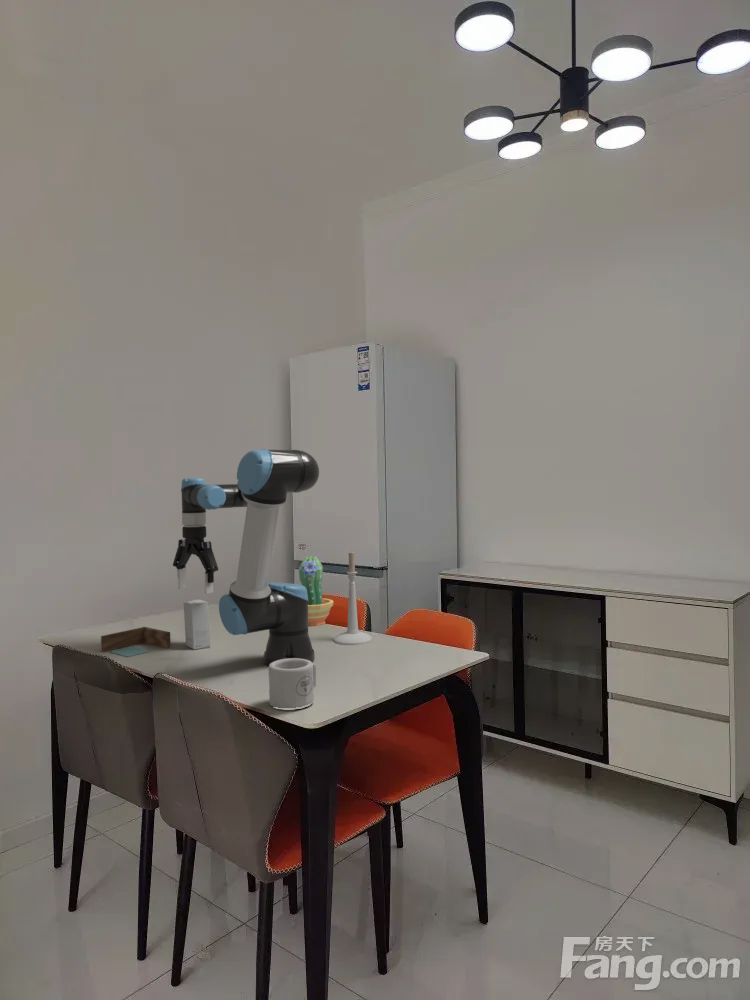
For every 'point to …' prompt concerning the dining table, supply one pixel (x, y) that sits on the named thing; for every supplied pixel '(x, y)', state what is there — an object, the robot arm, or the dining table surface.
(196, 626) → the skincare box
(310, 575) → the potted cactus
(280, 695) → the mug
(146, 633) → the wooden corner bracket
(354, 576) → the candlestick
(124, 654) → the pad
